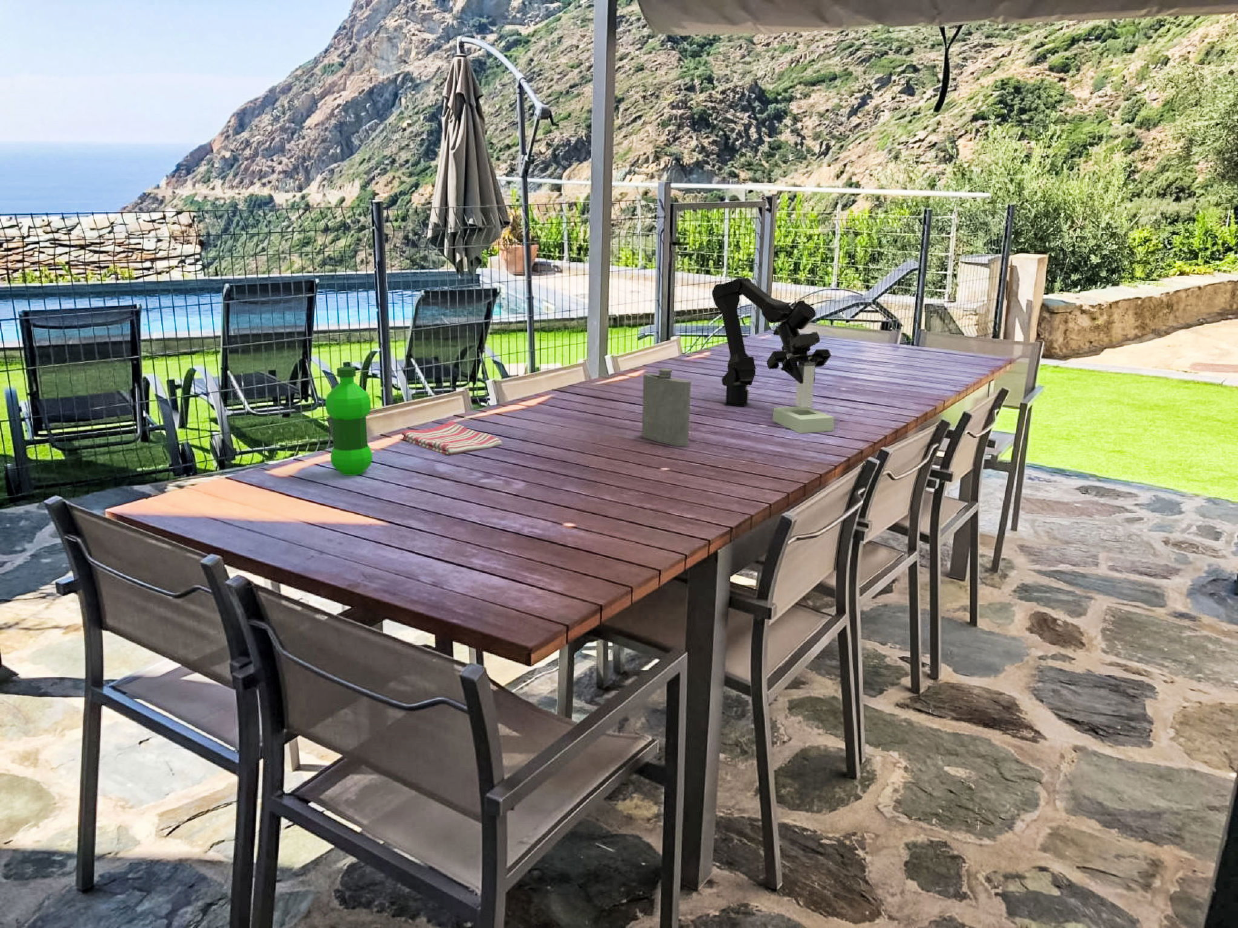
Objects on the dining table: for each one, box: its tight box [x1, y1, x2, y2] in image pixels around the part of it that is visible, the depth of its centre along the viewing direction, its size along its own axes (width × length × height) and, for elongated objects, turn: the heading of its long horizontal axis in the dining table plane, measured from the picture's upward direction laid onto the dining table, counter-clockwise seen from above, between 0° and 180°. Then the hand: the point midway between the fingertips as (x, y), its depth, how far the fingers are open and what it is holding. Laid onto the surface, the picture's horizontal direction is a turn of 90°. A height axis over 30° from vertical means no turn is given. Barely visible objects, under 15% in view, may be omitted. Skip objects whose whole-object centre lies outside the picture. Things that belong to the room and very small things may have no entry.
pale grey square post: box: [794, 361, 816, 408], centre depth 278 cm, size 4×4×13 cm
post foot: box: [772, 405, 835, 434], centre depth 281 cm, size 16×11×4 cm
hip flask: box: [641, 367, 692, 447], centre depth 259 cm, size 16×4×20 cm, turn 46°
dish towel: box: [401, 420, 503, 456], centre depth 255 cm, size 17×23×4 cm
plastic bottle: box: [325, 366, 373, 476], centre depth 224 cm, size 10×10×25 cm
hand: (807, 382), depth 277 cm, fingers closed on pale grey square post, 3 cm apart
